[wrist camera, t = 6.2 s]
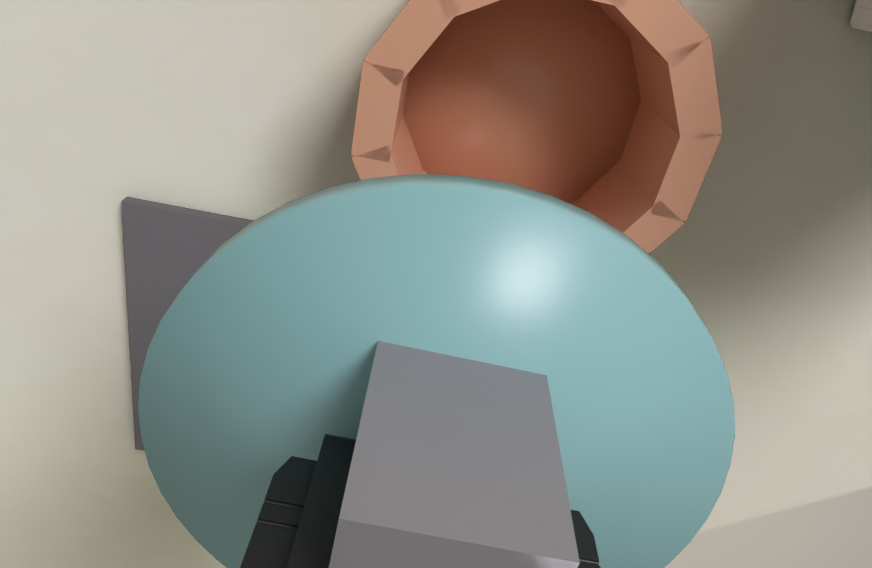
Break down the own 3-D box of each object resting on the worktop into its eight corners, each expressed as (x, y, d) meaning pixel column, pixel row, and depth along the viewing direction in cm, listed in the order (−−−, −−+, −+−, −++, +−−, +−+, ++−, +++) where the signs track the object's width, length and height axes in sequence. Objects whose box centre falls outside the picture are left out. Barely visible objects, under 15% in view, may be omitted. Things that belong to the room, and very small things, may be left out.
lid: (156, 563, 16) (47, 784, 12) (154, 102, 10) (-58, 219, 6) (603, 642, 17) (647, 874, 13) (835, 255, 11) (1053, 450, 7)
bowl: (359, 205, 26) (336, 267, 21) (401, -92, 21) (383, -99, 16) (610, 254, 27) (642, 324, 22) (712, -23, 22) (783, -10, 17)
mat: (139, 442, 33) (135, 448, 33) (126, 196, 26) (121, 201, 26) (402, 485, 34) (401, 492, 34) (455, 258, 27) (455, 264, 27)
